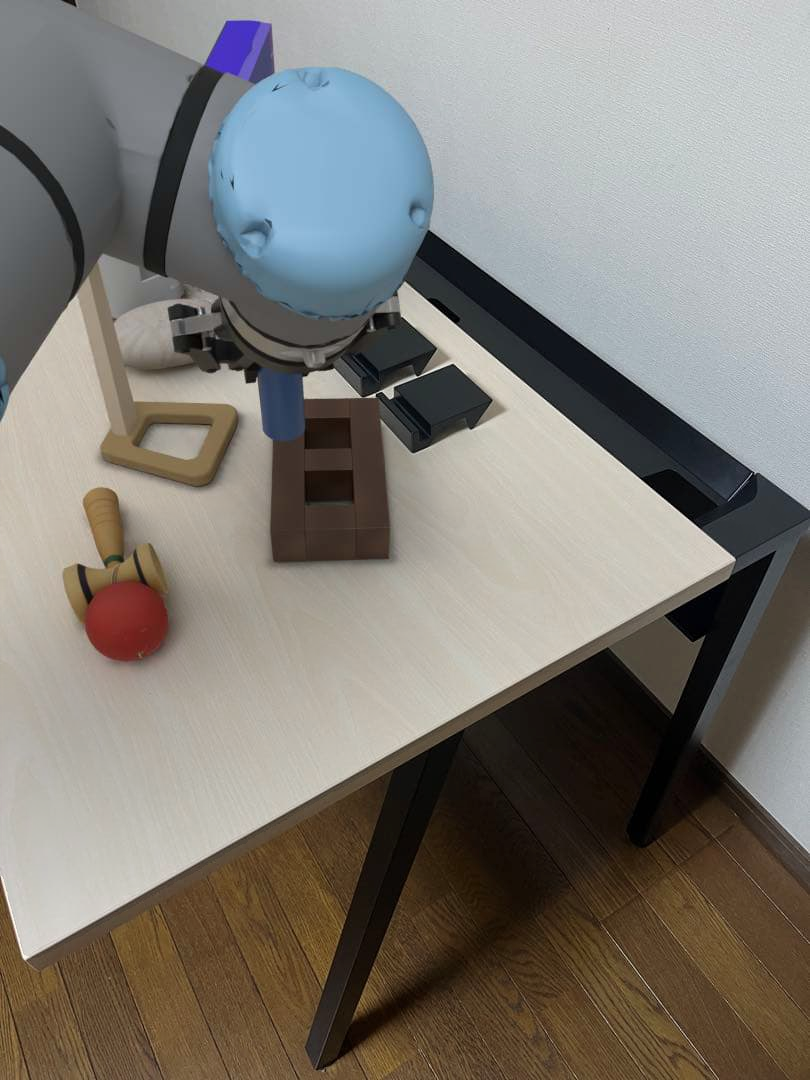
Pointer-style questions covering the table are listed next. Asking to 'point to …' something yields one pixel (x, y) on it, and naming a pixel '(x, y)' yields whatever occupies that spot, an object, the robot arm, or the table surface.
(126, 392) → the headphone stand
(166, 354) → the decorative stone
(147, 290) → the cable organizer
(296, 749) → the table surface
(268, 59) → the cereal box
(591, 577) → the table surface
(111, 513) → the kendama
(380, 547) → the rack
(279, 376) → the peg
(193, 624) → the table surface
